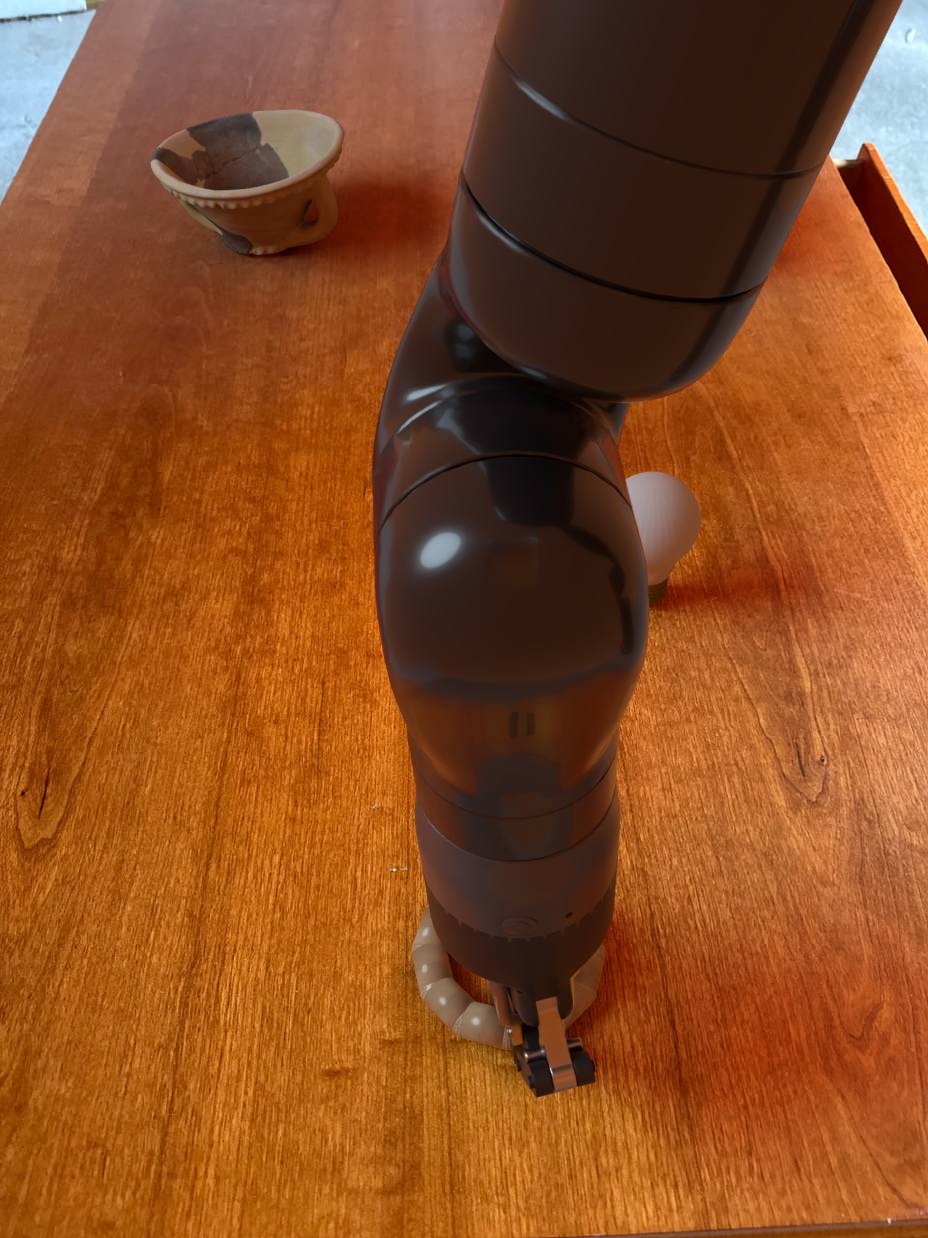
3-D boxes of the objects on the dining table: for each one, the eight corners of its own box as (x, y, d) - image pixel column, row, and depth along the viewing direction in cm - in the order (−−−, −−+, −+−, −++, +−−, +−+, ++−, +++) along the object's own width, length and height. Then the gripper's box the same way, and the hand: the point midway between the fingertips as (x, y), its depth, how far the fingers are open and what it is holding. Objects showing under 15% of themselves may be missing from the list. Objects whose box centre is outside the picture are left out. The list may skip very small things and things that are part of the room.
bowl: (392, 210, 112) (380, 113, 105) (292, 306, 101) (272, 204, 94) (244, 180, 118) (224, 86, 111) (135, 267, 107) (106, 169, 100)
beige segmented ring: (571, 859, 62) (571, 841, 61) (627, 1025, 56) (629, 1010, 55) (399, 900, 61) (396, 883, 60) (437, 1075, 55) (434, 1060, 54)
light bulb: (667, 644, 72) (679, 529, 65) (584, 612, 74) (587, 497, 67) (705, 585, 75) (721, 469, 68) (624, 556, 78) (631, 440, 70)
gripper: (676, 988, 39) (647, 1153, 52) (562, 685, 48) (561, 889, 61) (463, 1042, 38) (487, 1196, 51) (388, 723, 47) (424, 922, 60)
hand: (527, 1028), depth 56 cm, fingers closed on beige segmented ring, 2 cm apart
